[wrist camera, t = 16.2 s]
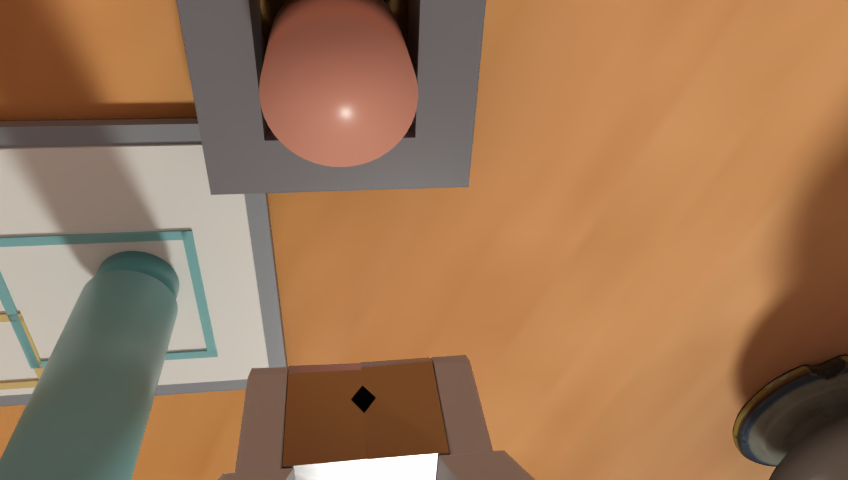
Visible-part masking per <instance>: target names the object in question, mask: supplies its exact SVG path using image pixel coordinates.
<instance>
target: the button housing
mask: <svg viewBox="0 0 848 480" xmlns="http://www.w3.org/2000/svg"><path fill="white" fill-rule="evenodd" d="M176 1H177V6H178V12H179V17H180V23H181V29H182V34H183V40H184V46H185V51H186V57H187V63H188V68H189V74H190V80H191V85H192V91H193V97H194V102H195V108H196V113H197V119H198V125H199V130H200V136H201V142H202V147H203V153H204V159H205V164H206V170H207V176H208V181H209V187H210V192H211V195H224V194H256V193H288V192H321V191H353V190H386V189H418V188H450V187H469V177H470V166H471V155H472V144H473V134H474V123H475V112H476V102H477V91H478V80H479V69H480V59H481V48H482V37H483V27H484V16H485V5H486V0H409V7H408V46H407V50H408V53H409V56H410V59H411V63H412V66H413V69H414V72H415V75H416V79H417V85H418V103H417V109H416V113H415V116H414V119H413V121H412V124H411V126H410V128H409V129H408V131H407V133H406V134H405V136H404V137H403V138H402V140H401V141H400V142H399V143H398V144H397V145H396V146H395V147H394V148H392V149H391V150H390V151H389V152H387V153H386V154H384V155H383V156H381V157H379V158H377V159H375V160H373V161H371V162H368V163H365V164H362V165H357V166H351V167H330V166H324V165H320V164H316V163H313V162H310V161H308V160H305V159H303V158H301V157H300V156H298V155H296V154H294V153H293V152H292V151H290V150H289V149H287V148H286V147H285V146H284V145H283V144H282V143H281V142H280V141H279V140H278V139H277V138H276V136H275V135H274V134H273V132H272V131H271V129H270V128H269V126H268V124H267V122H266V120H265V118H264V115H263V112H262V109H261V104H260V99H259V84H260V77H261V72H262V67H263V63H264V58H265V45H264V36H263V26H262V17H261V7H260V0H176Z"/></svg>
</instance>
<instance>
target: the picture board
mask: <svg viewBox="0 0 848 480" xmlns="http://www.w3.org/2000/svg"><path fill="white" fill-rule="evenodd" d="M124 251H141V252H146V253H150V254H153V255H155V256H157V257H159V258H161V259H163V260H164V261H166V262H167V263H168V264H169V265H170V266H171V267H172V268H173V269H174V271H175V272H176V274H177V276H178V279H179V292H178V295H177V298H176V301H177V306H178V313H177V317H176V321H175V324H174V328H173V332H172V335H171V339H170V342H169V346H168V350H167V353H166V357H165V360H164V364H163V368H162V371H161V375H160V378H159V382H158V385H157V389H156V393H155V396H157V395H171V394H185V393H200V392H214V391H229V390H243V389H246V386H247V379H248V376H249V373H250V371H251V369H252V368H271V367H288V366H287V358H286V349H285V341H284V332H283V324H282V315H281V307H280V298H279V290H278V281H277V273H276V264H275V256H274V247H273V239H272V230H271V222H270V213H269V205H268V196H267V193H256V194H224V195H211V192H210V187H209V181H208V176H207V170H206V164H205V159H204V153H203V147H202V142H201V136H200V130H199V125H198V119H197V118H170V119H106V120H43V121H0V406H13V405H27V403H28V401H29V399H30V397H31V395H32V393H33V391H34V389H35V387H36V385H37V382H38V380H39V378H40V376H41V374H42V372H43V370H44V368H45V366H46V364H47V362H48V360H49V358H50V356H51V353H52V351H53V349H54V347H55V345H56V343H57V341H58V339H59V337H60V335H61V333H62V331H63V329H64V327H65V324H66V322H67V320H68V318H69V316H70V314H71V312H72V310H73V308H74V306H75V304H76V302H77V300H78V298H79V295H80V293H81V291H82V289H83V288H84V286H85V285H86V283H87V282H88V281H89V280H90V279H92V278H93V277H95V275H96V273H97V271H98V269H99V267H100V265H101V264H102V262H103V261H104V260H105V259H107V258H108V257H110V256H111V255H114V254H116V253H119V252H124Z"/></svg>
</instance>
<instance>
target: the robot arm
mask: <svg viewBox="0 0 848 480" xmlns="http://www.w3.org/2000/svg"><path fill="white" fill-rule="evenodd" d="M218 480H535V479H534V478H533V477H532V476H531V475H530V474H529V473H528V472H526V471H525V470H524V469H523V468H522V467H521V466H520V465H519V464H518V463H517V462H516V461H515V460H514V459H513V458H511V457H510V456H509V455H508V454H507V453H506V452H505V451H493V449H492V445H491V441H490V437H489V433H488V430H487V426H486V422H485V418H484V414H483V410H482V406H481V402H480V399H479V395H478V391H477V387H476V383H475V379H474V375H473V371H472V367H471V364H470V360H469V359H468V358H467V356H466V355H460V356H446V357H432V358H431V359H430V358H416V359H403V360H389V361H376V362H362V363H356V364H331V365H305V366H289V367H271V368H252V369H251V371H250V373H249V376H248V379H247V386H246V394H245V401H244V409H243V416H242V424H241V431H240V438H239V446H238V453H237V461H236V468H235V472H234V473H225V474H222V476H221V477H220V478H219V479H218Z"/></svg>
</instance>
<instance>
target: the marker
mask: <svg viewBox="0 0 848 480" xmlns="http://www.w3.org/2000/svg"><path fill="white" fill-rule="evenodd" d="M178 292H179V279H178V276H177V274H176V272H175V271H174V269H173V268H172V267H171V266H170V265H169V264H168V263H167V262H166V261H164V260H163V259H161V258H159V257H157V256H155V255H153V254H150V253H146V252H141V251H124V252H119V253H116V254H114V255H111V256H110V257H108V258H107V259H105V260H104V261H103V262H102V264H101V265H100V267H99V269H98V271H97V273H96V275H95V277H93V278H92V279H90V280H89V281H88V282H87V283H86V285H85V286H84V288H83V289H82V291H81V293H80V295H79V298H78V300H77V302H76V304H75V306H74V308H73V310H72V312H71V314H70V316H69V318H68V320H67V322H66V324H65V327H64V329H63V331H62V333H61V335H60V337H59V339H58V341H57V343H56V345H55V347H54V349H53V351H52V353H51V356H50V358H49V360H48V362H47V364H46V366H45V368H44V370H43V372H42V374H41V376H40V378H39V380H38V382H37V385H36V387H35V389H34V391H33V393H32V395H31V397H30V399H29V401H28V403H27V405H26V407H25V409H24V411H23V413H22V416H21V418H20V420H19V422H18V424H17V426H16V428H15V430H14V432H13V434H12V436H11V438H10V440H9V442H8V445H7V447H6V449H5V451H4V453H3V455H2V457H1V459H0V480H131V479H132V475H133V472H134V468H135V464H136V461H137V457H138V454H139V450H140V446H141V443H142V439H143V436H144V432H145V429H146V425H147V421H148V418H149V414H150V411H151V407H152V403H153V400H154V396H155V393H156V389H157V385H158V382H159V378H160V375H161V371H162V368H163V364H164V360H165V357H166V353H167V350H168V346H169V342H170V339H171V335H172V332H173V328H174V324H175V321H176V317H177V313H178V306H177V301H176V298H177V295H178Z"/></svg>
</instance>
